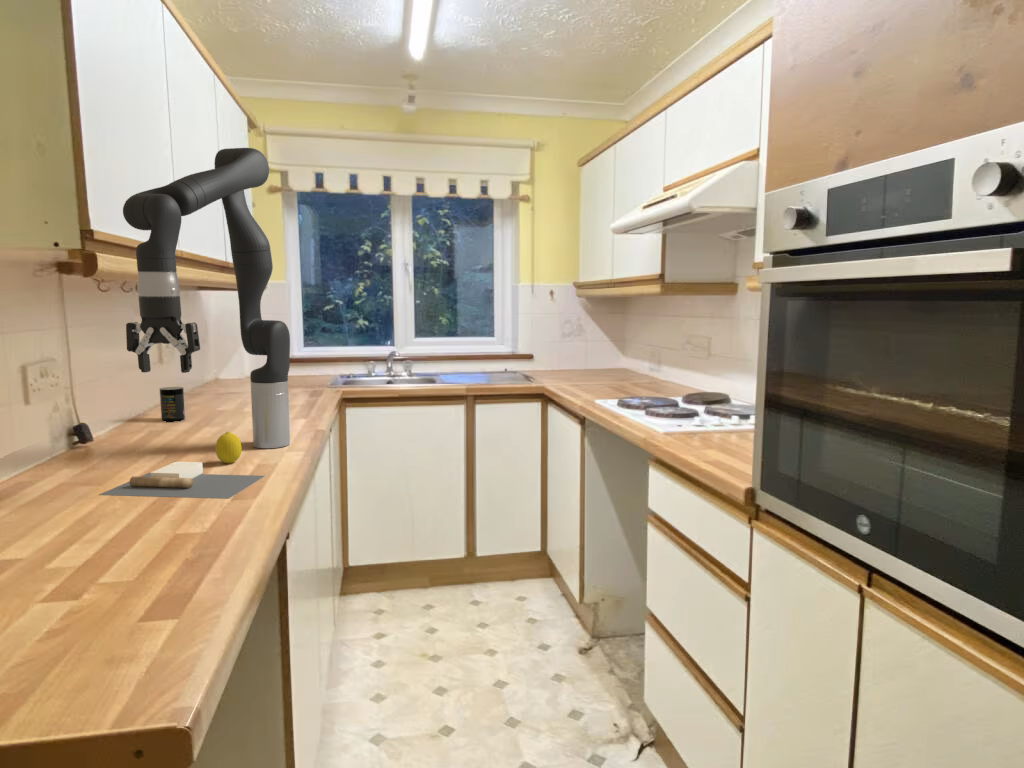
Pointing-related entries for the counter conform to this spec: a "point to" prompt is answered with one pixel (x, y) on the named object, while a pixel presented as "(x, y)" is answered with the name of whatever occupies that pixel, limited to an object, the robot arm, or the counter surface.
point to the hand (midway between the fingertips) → (165, 372)
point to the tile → (180, 470)
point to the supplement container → (172, 404)
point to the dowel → (161, 482)
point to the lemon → (228, 448)
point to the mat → (200, 489)
